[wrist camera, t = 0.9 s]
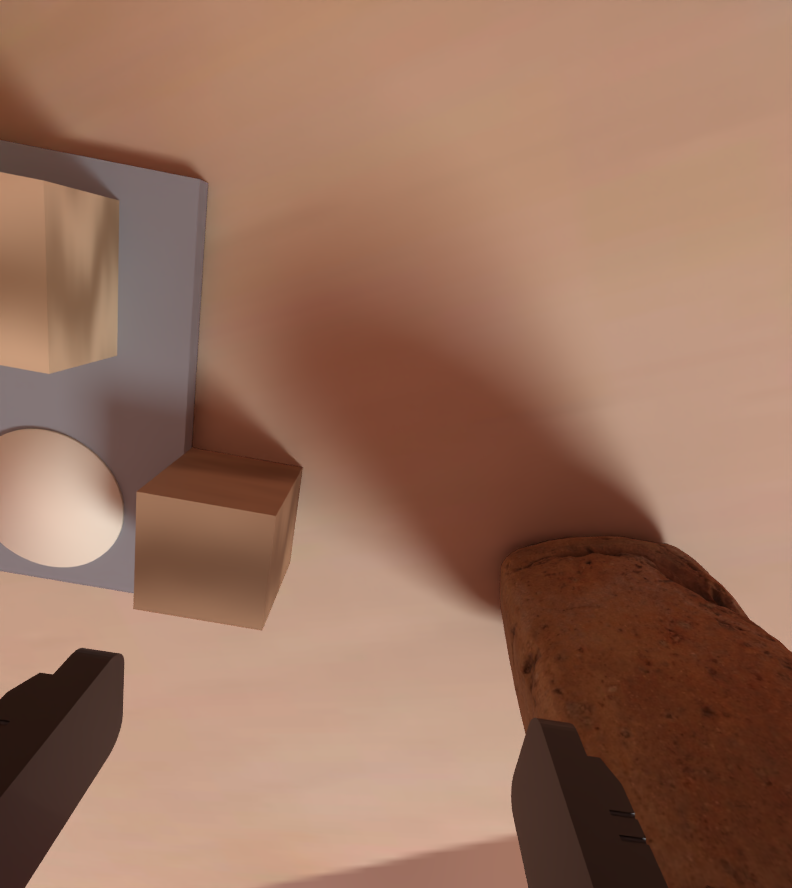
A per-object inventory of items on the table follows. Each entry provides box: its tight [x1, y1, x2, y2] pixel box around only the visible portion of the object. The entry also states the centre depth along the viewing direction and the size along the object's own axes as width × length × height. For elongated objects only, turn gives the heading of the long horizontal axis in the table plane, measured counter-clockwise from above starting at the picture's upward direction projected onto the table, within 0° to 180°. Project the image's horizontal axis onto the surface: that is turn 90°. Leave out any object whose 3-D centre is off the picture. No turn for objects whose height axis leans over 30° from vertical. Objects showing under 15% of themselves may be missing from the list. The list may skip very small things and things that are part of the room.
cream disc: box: [0, 429, 124, 567], centre depth 27 cm, size 8×8×1 cm
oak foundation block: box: [0, 172, 119, 374], centre depth 21 cm, size 7×7×5 cm
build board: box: [0, 140, 208, 593], centre depth 26 cm, size 22×14×1 cm, turn 170°
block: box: [499, 536, 792, 888], centre depth 20 cm, size 11×8×20 cm
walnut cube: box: [133, 448, 303, 630], centre depth 26 cm, size 6×6×6 cm
